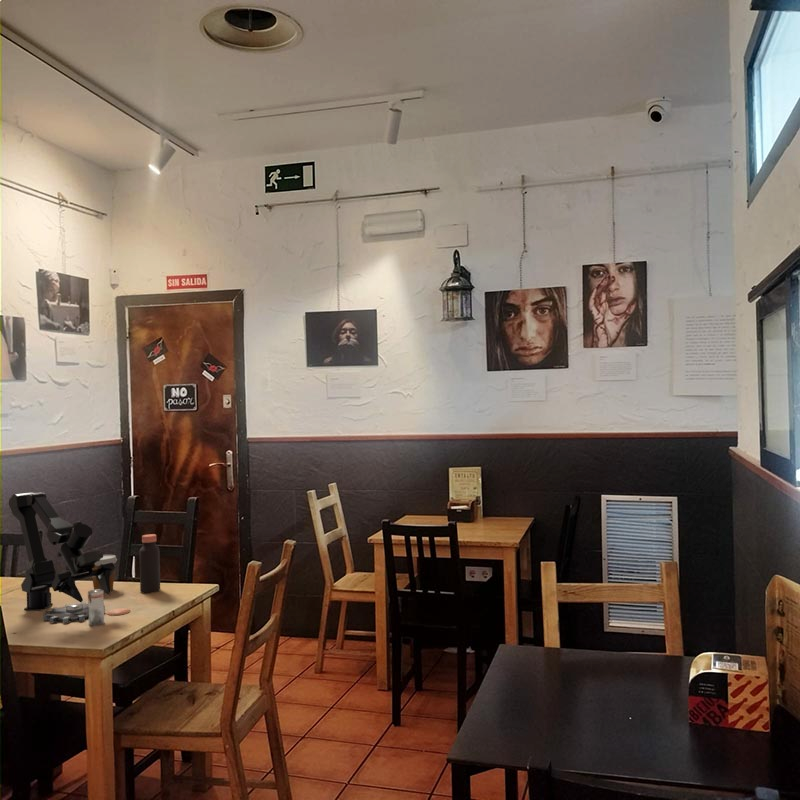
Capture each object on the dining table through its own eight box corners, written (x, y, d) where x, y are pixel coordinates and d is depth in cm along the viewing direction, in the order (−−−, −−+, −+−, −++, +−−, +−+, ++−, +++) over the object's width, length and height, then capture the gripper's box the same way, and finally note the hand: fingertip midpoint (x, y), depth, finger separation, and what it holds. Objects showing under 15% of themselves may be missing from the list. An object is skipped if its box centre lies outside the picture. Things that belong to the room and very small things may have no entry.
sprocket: (30, 622, 224) (30, 612, 224) (67, 606, 242) (67, 597, 242) (82, 624, 221) (82, 614, 221) (116, 607, 239) (116, 598, 239)
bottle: (139, 594, 255) (138, 537, 255) (140, 589, 262) (139, 534, 262) (159, 592, 257) (158, 536, 257) (160, 587, 264) (159, 533, 264)
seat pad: (103, 615, 230) (103, 614, 230) (112, 609, 237) (112, 608, 237) (124, 615, 230) (124, 614, 230) (133, 609, 237) (133, 608, 237)
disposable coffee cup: (111, 593, 257) (110, 559, 257) (84, 594, 257) (84, 560, 257) (121, 586, 267) (121, 554, 267) (95, 587, 267) (95, 554, 267)
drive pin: (85, 626, 219) (85, 593, 219) (92, 621, 224) (91, 589, 224) (100, 625, 219) (99, 592, 219) (106, 621, 224) (106, 589, 224)
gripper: (55, 547, 217) (77, 588, 211) (111, 536, 232) (133, 574, 226) (42, 570, 222) (63, 611, 215) (97, 558, 237) (118, 596, 230)
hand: (95, 597), depth 222 cm, fingers open, 9 cm apart
